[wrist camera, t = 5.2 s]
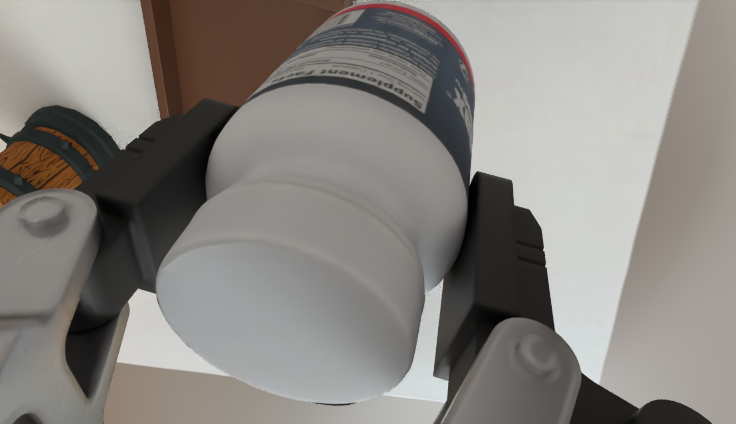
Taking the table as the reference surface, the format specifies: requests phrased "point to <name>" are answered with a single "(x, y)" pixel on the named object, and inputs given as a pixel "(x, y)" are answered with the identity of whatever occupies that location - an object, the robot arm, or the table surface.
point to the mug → (52, 153)
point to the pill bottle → (330, 210)
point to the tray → (224, 45)
